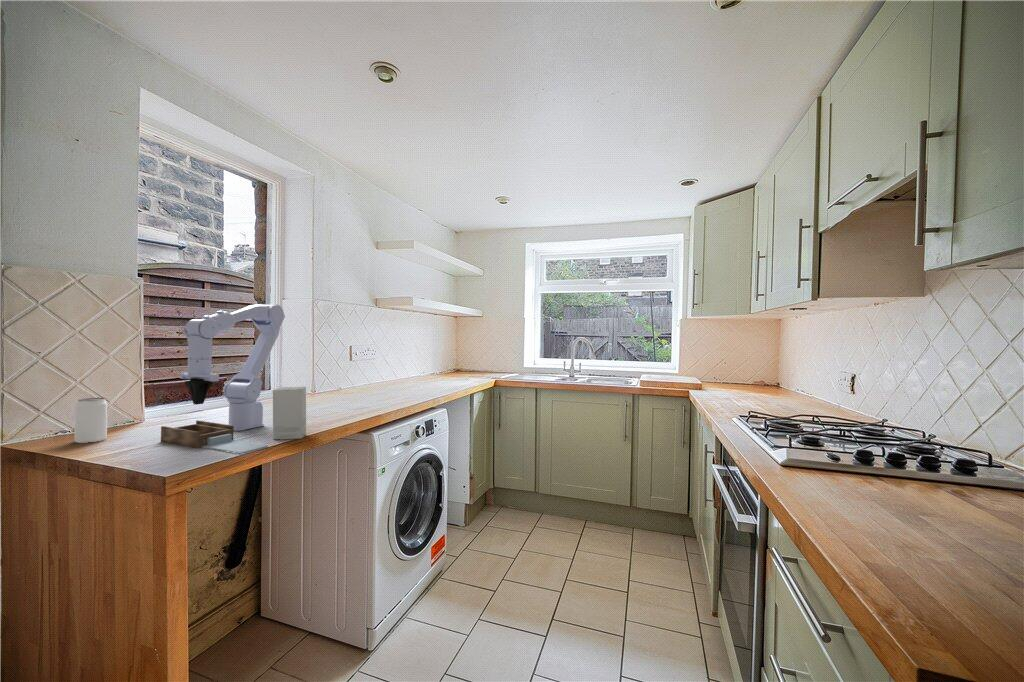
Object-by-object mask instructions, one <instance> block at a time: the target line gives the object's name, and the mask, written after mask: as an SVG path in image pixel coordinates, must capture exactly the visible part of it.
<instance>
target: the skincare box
mask: <svg viewBox="0 0 1024 682" xmlns="http://www.w3.org/2000/svg"><path fill="white" fill-rule="evenodd" d="M305 435H307V386H280V387H276V388H275V389H273V390H272V440H273V439H280V440H299V439H303V438H304V437H305Z"/></svg>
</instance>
